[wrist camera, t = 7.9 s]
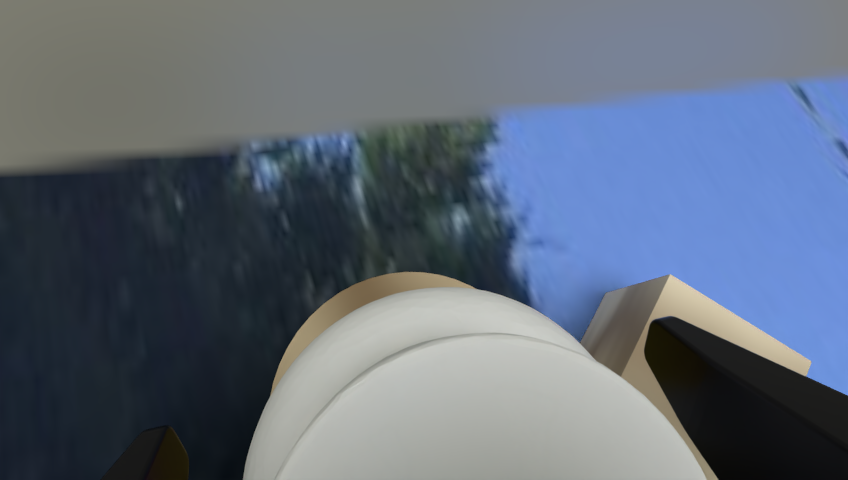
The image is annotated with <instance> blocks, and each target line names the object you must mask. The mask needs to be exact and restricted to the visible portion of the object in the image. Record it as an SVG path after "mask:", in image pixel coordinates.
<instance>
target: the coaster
mask: <svg viewBox="0 0 848 480" xmlns="http://www.w3.org/2000/svg"><path fill="white" fill-rule="evenodd" d="M436 287H461V288H471V289H475V288H474V287H472V286H470V285H467V284H465V283H463V282H460V281H458V280H456V279H452V278H449V277H445V276H442V275H437V274H430V273H424V272H401V273H392V274H386V275H382V276H378V277H373V278H370V279H367V280H365V281H362V282H360V283H357V284H354V285H353V286H351V287H349V288H347V289H345V290H343V291H342V292H340V293H338V294H337V295H335V296H334V297H332V298H331V299H330V300H328V301H327V302H326V303H324V304H323V305H322V306H321V307H320V308H319V309H318V310H317V311H315V312H314V313H313V314H312V315H311V316H310V317H309V318H308V320H307V321H306V322H305V323H304V324H303V326H302V327H301V328H300V329H299V330H298V332H297V333H296V335H295V336H294V338H293V340H292V341H291V343H290V344H289V346H288V347H287V350H286V352H285V354H284V356H283V358H282V360H281V362H280V364H279V367H278V370H277V373H276V376H275V379H274V382H273V386H272V391H271V394H272V393H273V391H274V389H275V388H276V386H277V384H278V383H279V381H280V380H281V378H282V377H283V375H284V374H285V372H286V371H287V370H288V368H289V367H290V366H291V364H292V363H293V362H294V361H295V359H296V358H297V357H298V356H299V355H300V354H301V352H302V351H303V350H304V349H305V348H306V347H307V346H308V345H309V344H310V343H311V342H312V341H313V340H314V339H315V338H316V337H318V336H319V335H320V334H321V333H323V332H324V331H325V330H326V329H327V328H329V327H330V326H331V325H332V324H334V323H335V322H337V321H338V320H340V319H341V318H343V317H344V316H346V315H348V314H349V313H351V312H353V311H354V310H356V309H358V308H360V307H362V306H364V305H366V304H368V303H371V302H373V301H375V300H378V299H381V298H384V297H386V296H389V295H393V294H396V293H400V292H405V291H410V290H416V289H424V288H436Z"/></svg>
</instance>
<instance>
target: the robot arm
mask: <svg viewBox="0 0 848 480" xmlns="http://www.w3.org/2000/svg"><path fill="white" fill-rule="evenodd" d="M644 356H645V359H646V361H647V364H648V365H649V367H650V369H651V371H652V373H653V374H654V376H655V378H656V380H657V382H658V383H659V385H660V387H661V389H662V391H663V392H664V394H665V396H666V398H667V400H668V401H669V403H670V405H671V407H672V409H673V411H674V412H675V414H676V416H677V418H678V420H679V421H680V423H681V425H682V426H683V428H684V430H685V431H686V433H687V434H688V436H689V437H690V439H691V440H692V442H693V443H694V445H695V446H696V448H697V449H698V451H699V452H700V454H701V455H702V457H703V458H704V459H705V461H706V462H707V464H708V465H709V467H710V468H711V470H712V471H713V472H714V474H715V475H716V477H717V478H718V480H848V396H847V395H845V394H843V393H841V392H839V391H836V390H834V389H832V388H830V387H828V386H826V385H823V384H821V383H819V382H817V381H815V380H812V379H810V378H808V377H806V376H804V375H802V374H799V373H797V372H795V371H793V370H791V369H788V368H786V367H784V366H782V365H780V364H778V363H775V362H773V361H771V360H769V359H767V358H764V357H762V356H760V355H758V354H756V353H754V352H751V351H749V350H747V349H745V348H743V347H740V346H738V345H736V344H734V343H732V342H730V341H727V340H725V339H723V338H721V337H719V336H717V335H714V334H712V333H710V332H708V331H706V330H703V329H701V328H699V327H697V326H695V325H693V324H690V323H688V322H686V321H684V320H682V319H679V318H677V317H674V316H667V317H662V318H657V319H654V320H652V321H651V323H650V325H649V329H648V333H647V338H646V342H645V346H644ZM188 473H189V460H188V455H187V452H186V450H185V449H184V447H183V445H182V443H181V442H180V440H179V438H178V436H177V434H176V433H175V431H174V429H173V428H172V427H170V426H168V425H165V426H160V427H156V428H151V429H147V430H145V431H143V432H142V433H141V434H140V435H139V436H138V437H137V438H136V439H135V440H134V441H133V443H132V444H131V445H130V446H129V447H128V448H127V450H126V451H125V452H124V453H123V454H122V455H121V457H120V458H119V459H118V460H117V461H116V462H115V464H114V465H113V466H112V467H111V468H110V469H109V471H108V472H107V473H106V474H105V475H104V476H103V478H102V479H101V480H188Z"/></svg>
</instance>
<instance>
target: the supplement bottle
mask: <svg viewBox="0 0 848 480" xmlns="http://www.w3.org/2000/svg"><path fill="white" fill-rule="evenodd" d="M243 480H707V479H706V477H705V475H704V473H703V471H702V469H701V467H700V466H699V464H698V462H697V460H696V459H695V457H694V455H693V453H692V452H691V451H690V449H689V448H688V446H687V445H686V443H685V442H684V440H683V439H682V438H681V436H680V435H679V433H678V432H677V431H676V430H675V428H674V427H673V426H672V425H671V423H670V422H669V421H668V420H667V418H666V417H665V416H664V415H663V414H662V413H661V412H660V411H659V410H658V409H657V408H656V407H655V406H654V405H653V404H652V403H651V402H650V401H649V400H648V399H647V398H646V397H645V396H644V395H643V394H642V393H641V392H639V391H638V390H637V389H636V388H634V387H633V386H632V385H631V384H629V383H628V382H627V381H626V380H624V379H623V378H622V377H620V376H619V375H617V374H616V373H614V372H613V371H611V370H610V369H608V368H607V367H606V366H604V365H603V364H601V363H599V362H597V361H596V360H595V359H594V358H593V357H592V356H591V355H590V354H589V353H588V351H587V350H586V349H585V348H584V347H583V346H582V345H581V344H580V343H579V342H578V341H577V340H576V339H575V338H574V337H573V336H572V335H570V334H569V333H568V332H567V331H565V330H564V329H563V328H562V327H560V326H559V325H558V324H556V323H555V322H553V321H552V320H551V319H549V318H548V317H546V316H545V315H543V314H541V313H540V312H538V311H536V310H535V309H533V308H531V307H529V306H527V305H525V304H522V303H520V302H518V301H515V300H513V299H510V298H507V297H505V296H502V295H499V294H495V293H491V292H488V291H483V290H477V289H471V288H461V287H436V288H424V289H416V290H410V291H405V292H400V293H396V294H393V295H389V296H386V297H384V298H381V299H378V300H375V301H373V302H371V303H368V304H366V305H364V306H362V307H360V308H358V309H356V310H354V311H353V312H351V313H349V314H348V315H346V316H344V317H343V318H341V319H340V320H338V321H337V322H335V323H334V324H332V325H331V326H330V327H329V328H327V329H326V330H325V331H324V332H323V333H321V334H320V335H319V336H318V337H316V338H315V339H314V340H313V341H312V342H311V343H310V344H309V345H308V346H307V347H306V348H305V349H304V350H303V351H302V352H301V354H300V355H299V356H298V357H297V358H296V359H295V361H294V362H293V363H292V364H291V366H290V367H289V368H288V370H287V371H286V372H285V374H284V375H283V377H282V378H281V380H280V381H279V383H278V384H277V386H276V388H275V389H274V391H273V393H272V394H271V396H270V398H269V400H268V402H267V403H266V405H265V408H264V410H263V413H262V415H261V417H260V420H259V422H258V425H257V427H256V430H255V432H254V435H253V438H252V441H251V444H250V448H249V452H248V455H247V459H246V463H245V469H244V476H243Z"/></svg>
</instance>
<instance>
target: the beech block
mask: <svg viewBox="0 0 848 480" xmlns="http://www.w3.org/2000/svg"><path fill="white" fill-rule="evenodd" d="M667 316H674V317H677V318H679V319H682V320H684V321H686V322H688V323H690V324H693V325H695V326H697V327H699V328H701V329H703V330H706V331H708V332H710V333H712V334H714V335H717V336H719V337H721V338H723V339H725V340H727V341H730V342H732V343H734V344H736V345H738V346H740V347H743V348H745V349H747V350H749V351H751V352H754V353H756V354H758V355H760V356H762V357H764V358H767V359H769V360H771V361H773V362H775V363H778V364H780V365H782V366H784V367H786V368H788V369H791V370H793V371H795V372H797V373H799V374H802V375H804V376H806V375H807V373H808V370H809V367H810V365H811V361H810V360H808V359H807V358H805V357H803V356H802V355H800V354H798V353H797V352H795V351H794V350H792V349H790V348H789V347H787V346H785V345H784V344H782V343H781V342H779V341H777V340H776V339H774V338H773V337H771V336H769V335H768V334H766V333H764V332H763V331H761V330H760V329H758V328H756V327H755V326H753V325H751V324H750V323H748V322H747V321H745V320H743V319H742V318H740V317H739V316H737V315H735V314H734V313H732V312H730V311H729V310H727V309H726V308H724V307H722V306H721V305H719V304H718V303H716V302H714V301H713V300H711V299H709V298H708V297H706V296H705V295H703V294H701V293H700V292H698V291H696V290H695V289H693V288H692V287H690V286H688V285H687V284H685V283H684V282H682V281H680V280H679V279H677V278H675V277H674V276H672V275H671V274H670V275H666V276H663V277H659V278H656V279H652V280H649V281H645V282H642V283H638V284H635V285H632V286H628V287H625V288H621V289H618V290H614V291H611V292H607V293H606V294H605V295H604V297H603V299H602V301H601V303H600V305H599V307H598V309H597V311H596V313H595V315H594V317H593V319H592V321H591V323H590V324H589V326H588V328H587V330H586V332H585V334H584V336H583V338H582V340H581V342H580V344H581V345H582V346H583V347H584V348H585V349H586V350H587V351H588V353H589V354H590V355H591V356H592V357H593V358H594V359H595V360H596V361H597V362H599V363H601V364H603V365H604V366H606V367H607V368H608V369H610V370H611V371H613V372H614V373H616V374H617V375H619V376H620V377H622V378H623V379H624V380H626V381H627V382H628V383H629V384H631V385H632V386H633V387H634V388H636V389H637V390H638V391H639V392H641V393H642V394H643V395H644V396H645V397H646V398H647V399H648V400H649V401H650V402H651V403H652V404H653V405H654V406H655V407H656V408H657V409H658V410H659V411H660V412H661V413H662V414H663V415H664V416H665V417H666V418H667V420H668V421H669V422H670V423H671V425H672V426H673V427H674V428H675V430H676V431H677V432H678V433H679V435H680V436H681V438H682V439H683V440H684V442H685V443H686V445H687V446H688V448H689V449H690V451H691V452H692V453H693V455H694V457H695V459H696V460H697V462H698V464H699V466H700V467H701V469H702V471H703V473H704V475H705V477H706V479H707V480H718V478H717V477H716V475H715V474H714V472H713V471H712V470H711V468H710V467H709V465H708V464H707V462H706V461H705V459H704V458H703V457H702V455H701V454H700V452H699V451H698V449H697V448H696V446H695V445H694V443H693V442H692V440H691V439H690V437H689V436H688V434H687V433H686V431H685V430H684V428H683V426H682V425H681V423H680V421H679V420H678V418H677V416H676V414H675V412H674V411H673V409H672V407H671V405H670V403H669V401H668V400H667V398H666V396H665V394H664V392H663V391H662V389H661V387H660V385H659V383H658V382H657V380H656V378H655V376H654V374H653V373H652V371H651V369H650V367H649V365H648V364H647V361H646V359H645V356H644V346H645V342H646V338H647V333H648V329H649V325H650V323H651V321H652V320H654V319H657V318H662V317H667Z"/></svg>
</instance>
